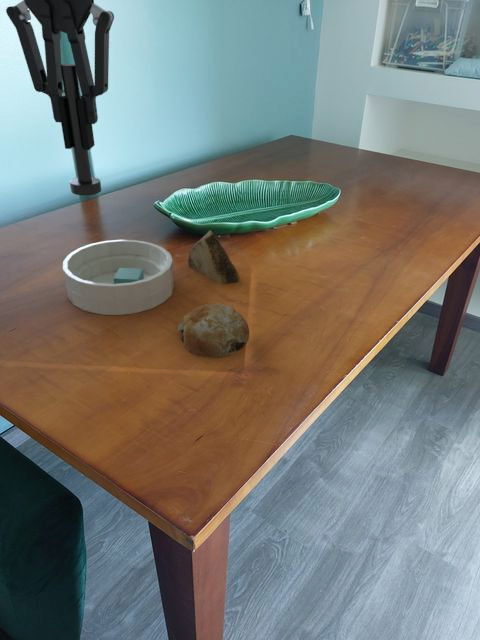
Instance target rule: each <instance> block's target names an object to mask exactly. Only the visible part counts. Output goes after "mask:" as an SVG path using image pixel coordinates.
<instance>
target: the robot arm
mask: <svg viewBox="0 0 480 640" xmlns="http://www.w3.org/2000/svg"><path fill="white" fill-rule="evenodd" d="M5 12H6V15H7V17H8V18H9V20H10V22H11V23H12V24H13V26H14V28H15V30H16V33H17V37H18V40H19V43H20V46H21V49H22V52H23V53H22V54H23V55H24V59H25V62H26V65H27V69H28V72H29V76H30V79H31V82H32V85H33V88H34V90H35V91H36V92H38V93H42V94H44V95H47V96H48V98H49V99H50V103H51V110H52V116H53V119H54V122H55V123H60V124H61V131H62V137H63V143H64V149H65V150H71V149H73V145H72V138H71V131H70V125H69V118H68V112H67V105H66V99H65V95H63V94H65V92H64V85H63V79H62V72H61V66H60V65H61V64H62V52H61V51H62V50H61V39H62V33H64V34H66V37H67V39H68V40H67V41H68V42H69V45H70V48H71V53H72V58H73V61H74V64H75V67H76V71H77V76H78V83H79V90H80V94H81V95H80V97H81V98H80V99H78V100H77V103H78V110H79V117H80V125H81V132H82V139H83V146H84V150H88V151H90V150H92V148H94V147H95V138H94V131H93V130H94V129H93V125H95V124H96V123H98V119H99V117H98V116H99V115H98V108H97V107H98V106H97V97H99V96H102V95H104V94H105V93H107V92H108V90H109V69H110V68H109V67H110V66H109V65H110V61H109V60H110V58H109V57H110V31H111V28H112V25H113V23H114V20H115V14H114V12H113V11H111V10H106V9H104V8H102V7H100V6H99V5H98V4H97V3H95V0H21V1H19V2H18V3H17V4H15V5H12V6H8V7H6V9H5ZM31 14H32V15H33V16H34V18H35V19H36V20H37V22H38V23H39V24H40V26H41V35H42V39H43V45H44V55H45V65H44V61H43V59H42V55H41V54H42V53H41V51H40V48H39V44H38V40H37V38H36V34H35V31H34V27H33V25H32V23H31V21H32V16H31ZM90 15H91V16H92V23H93V25H94V26H95V29H94V78H93V72H92V68H91V63H90V59H89V58H90V57H89V54H88V50H87V49H88V48H87V45H86V35H85V29H84V28H85V25H86V23H87V21H88V19H89V17H90ZM45 67H46V69H45Z"/></svg>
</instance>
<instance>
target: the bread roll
mask: <svg viewBox="0 0 480 640" xmlns="http://www.w3.org/2000/svg"><path fill="white" fill-rule="evenodd" d="M177 332H178V333H181V335H182V336H181V341H182V342H183V346H184V347H185V349H187V351H189V352H191V353H192V354H193V355H194V356H198V357H205V358H206V357H207V358H218V359H220V358H225V357H227V356H232V355H235V354H236V353H237V351H239V350H241V349H242V348H244V347H245V346H246V345H247V344H248V341H249V340H250V328H249V324H248V323H247V320H246V319H245V318H244V316H243V315H242V314H241V313H240V312H238V311H236V309H235V308H234V307H233V306H228V305H226V304H222V303H207V304H202V305H199V306H196V307H195V308H193V309H191V311H190V312H188V313H187V314H186V315H184V316H182V322H180V323H179V324H178V326H177Z"/></svg>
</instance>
